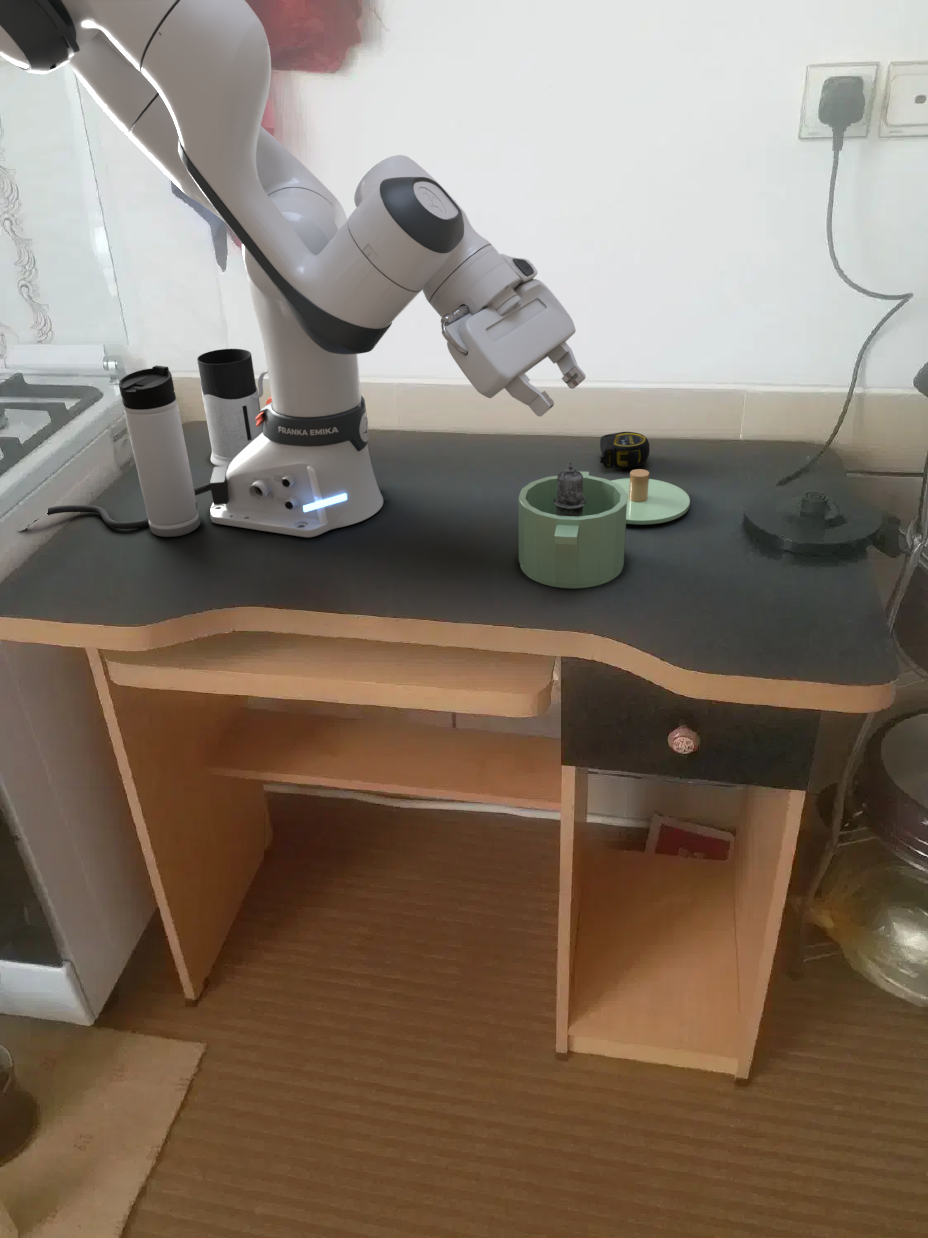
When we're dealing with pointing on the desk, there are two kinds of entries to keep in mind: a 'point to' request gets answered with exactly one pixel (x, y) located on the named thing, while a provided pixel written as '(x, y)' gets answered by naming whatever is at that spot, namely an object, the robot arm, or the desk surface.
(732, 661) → the desk surface
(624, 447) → the tape measure
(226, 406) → the tall handled mug
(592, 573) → the pot
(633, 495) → the pot lid
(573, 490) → the salt shaker
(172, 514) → the travel mug
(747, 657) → the desk surface
